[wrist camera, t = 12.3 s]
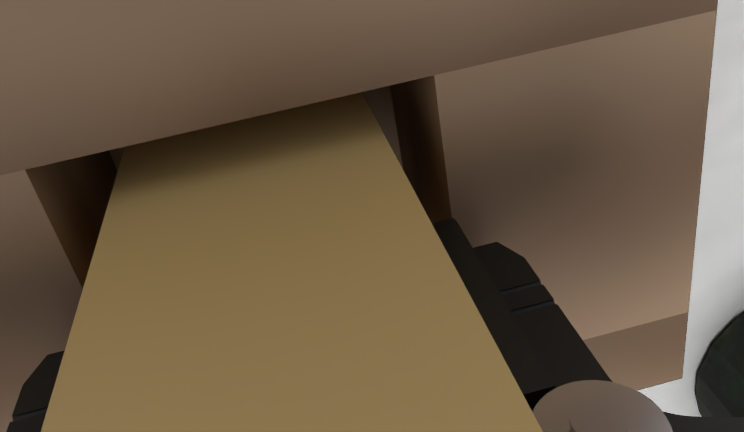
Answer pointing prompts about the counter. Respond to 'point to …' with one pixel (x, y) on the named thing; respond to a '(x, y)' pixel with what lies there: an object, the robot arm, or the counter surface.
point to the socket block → (401, 128)
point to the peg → (277, 293)
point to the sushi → (723, 375)
